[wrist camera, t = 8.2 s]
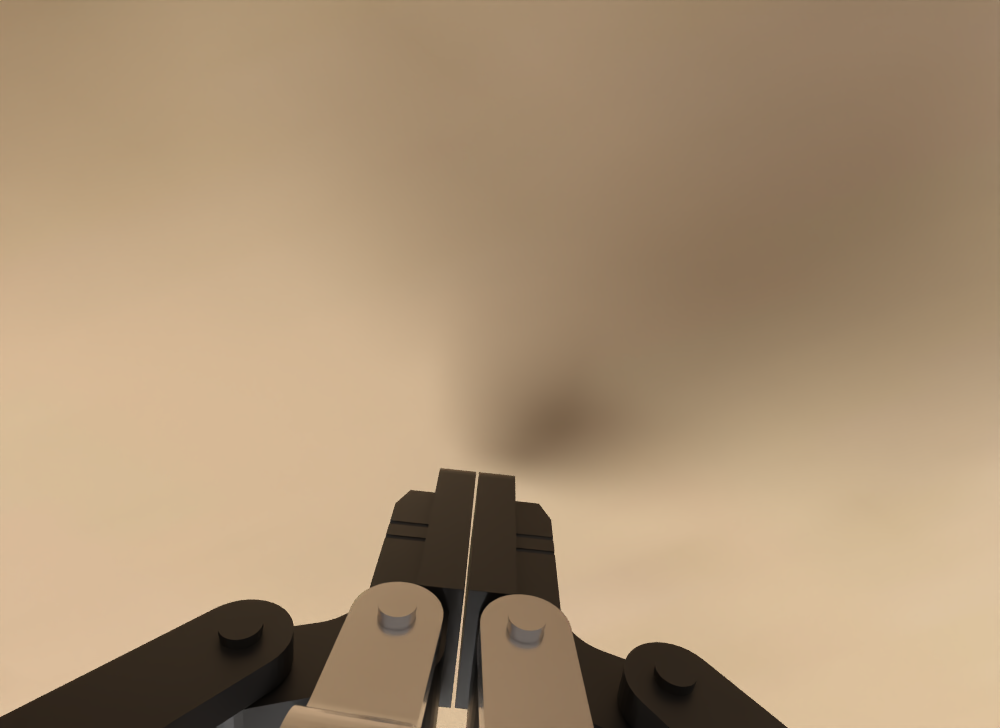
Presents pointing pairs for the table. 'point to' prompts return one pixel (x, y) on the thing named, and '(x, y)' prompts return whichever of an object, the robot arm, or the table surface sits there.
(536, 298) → the table surface
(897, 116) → the table surface
